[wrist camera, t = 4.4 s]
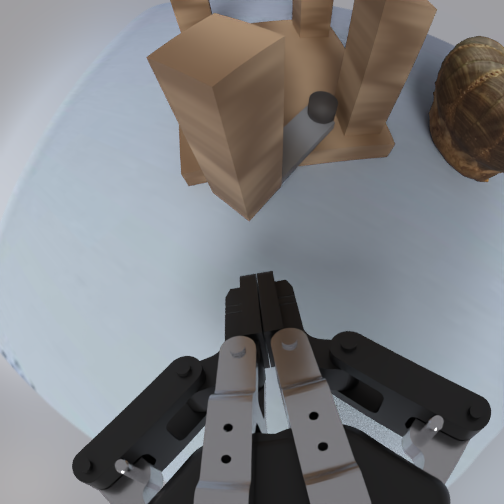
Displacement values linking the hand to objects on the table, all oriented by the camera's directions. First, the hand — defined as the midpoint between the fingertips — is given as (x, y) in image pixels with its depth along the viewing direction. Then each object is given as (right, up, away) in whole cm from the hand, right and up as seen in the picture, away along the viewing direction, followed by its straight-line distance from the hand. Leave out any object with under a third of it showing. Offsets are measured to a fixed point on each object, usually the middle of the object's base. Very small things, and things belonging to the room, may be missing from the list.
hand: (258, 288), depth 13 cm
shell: (+19, +12, +7) cm, 24 cm away
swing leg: (+2, +8, +5) cm, 10 cm away
